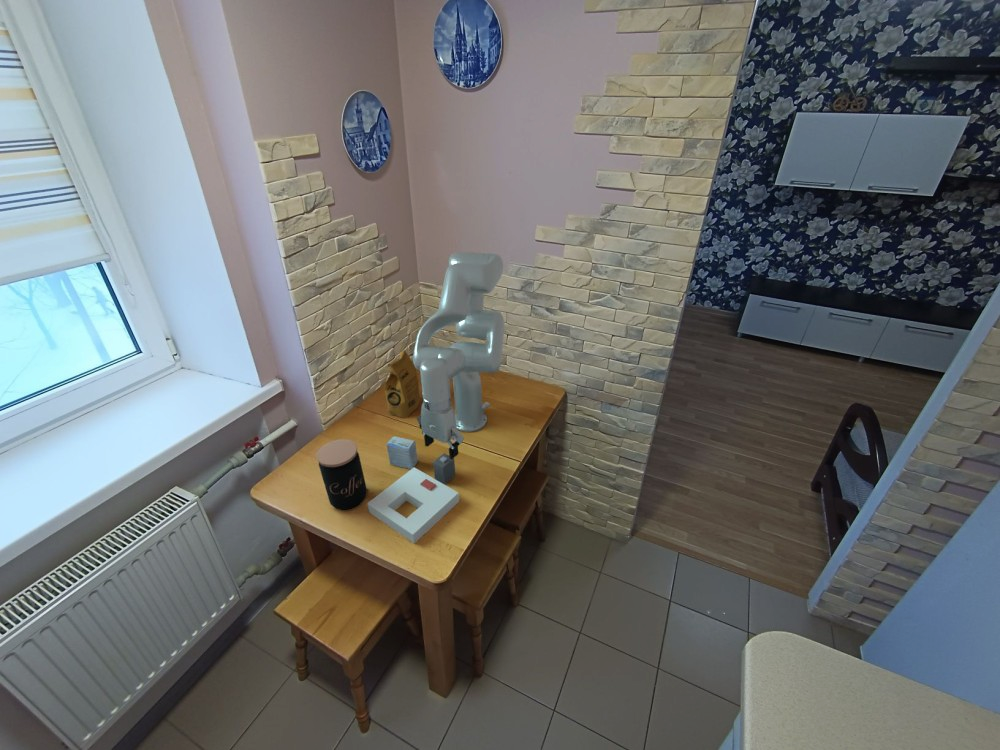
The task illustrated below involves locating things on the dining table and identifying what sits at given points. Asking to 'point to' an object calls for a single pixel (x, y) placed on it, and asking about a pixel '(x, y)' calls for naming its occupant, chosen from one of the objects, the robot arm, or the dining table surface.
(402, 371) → the coffee package
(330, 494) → the coffee jar
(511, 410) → the dining table surface
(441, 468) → the plug
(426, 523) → the socket plate
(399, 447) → the medicine box
